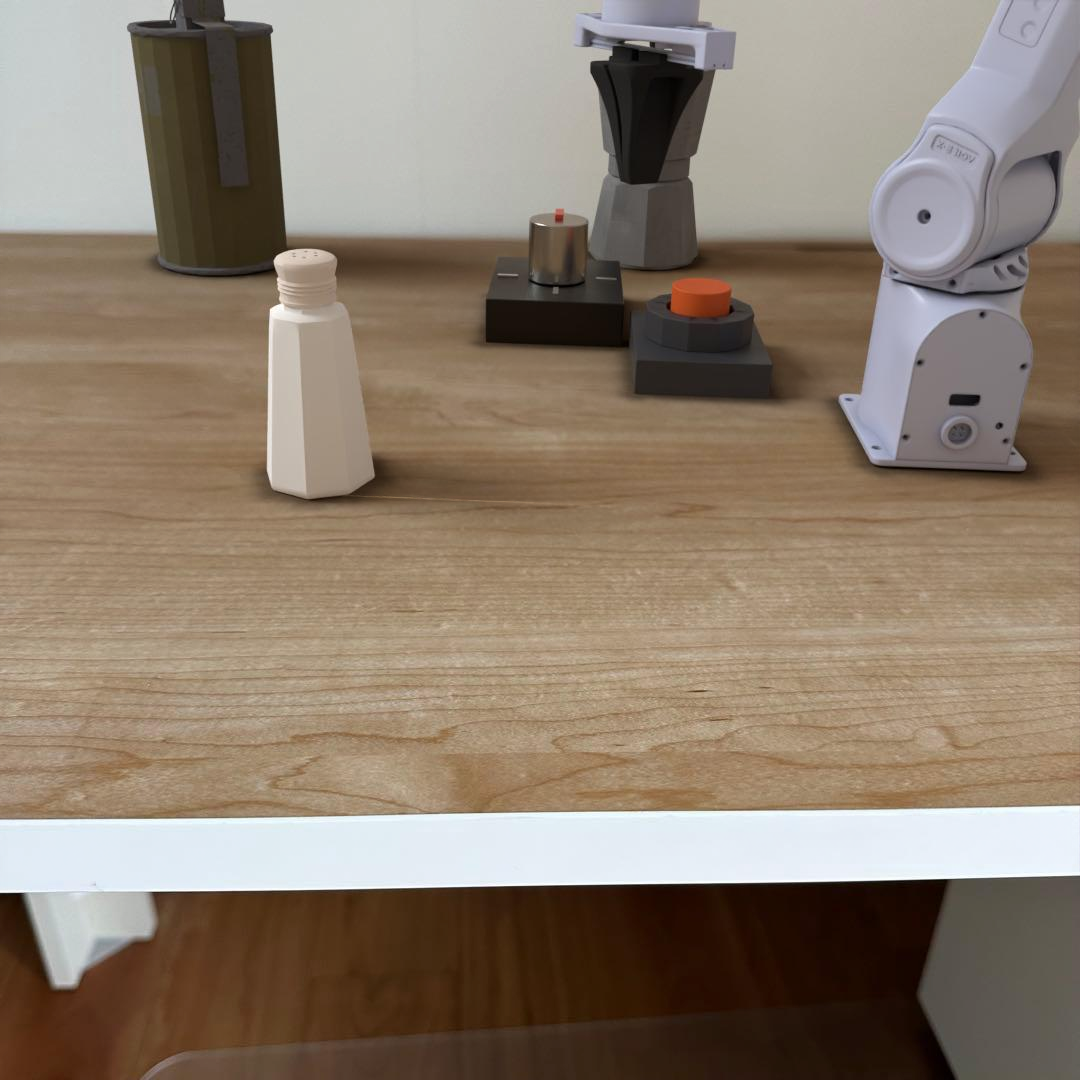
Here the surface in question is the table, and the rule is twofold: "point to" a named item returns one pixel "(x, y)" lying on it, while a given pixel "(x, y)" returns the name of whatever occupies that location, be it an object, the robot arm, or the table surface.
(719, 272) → the table surface
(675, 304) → the power button
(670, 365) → the switch block
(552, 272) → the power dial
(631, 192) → the coffeepot
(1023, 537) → the table surface
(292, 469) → the pepper shaker
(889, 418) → the robot arm
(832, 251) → the table surface
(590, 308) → the dial panel
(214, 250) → the canister
